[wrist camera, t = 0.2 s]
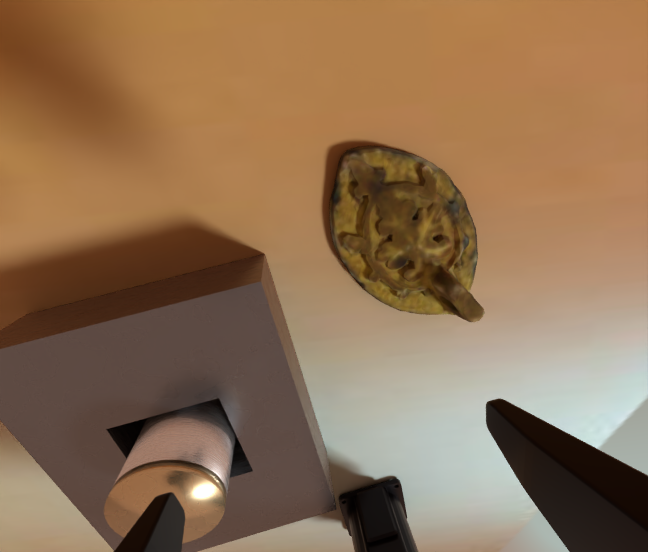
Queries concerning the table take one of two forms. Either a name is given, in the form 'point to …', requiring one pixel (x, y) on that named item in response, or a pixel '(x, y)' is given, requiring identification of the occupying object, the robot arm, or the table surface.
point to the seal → (405, 232)
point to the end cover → (177, 469)
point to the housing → (169, 392)
